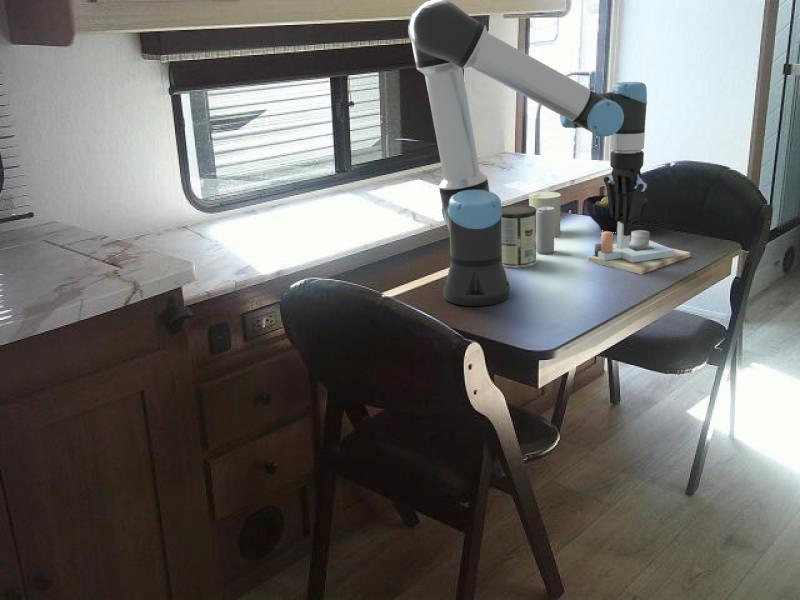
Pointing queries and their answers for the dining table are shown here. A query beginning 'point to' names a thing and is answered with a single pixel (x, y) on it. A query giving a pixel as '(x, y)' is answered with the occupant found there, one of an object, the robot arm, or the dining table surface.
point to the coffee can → (518, 236)
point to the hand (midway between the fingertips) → (622, 247)
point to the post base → (638, 244)
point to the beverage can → (545, 229)
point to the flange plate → (612, 252)
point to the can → (548, 200)
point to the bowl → (606, 212)
